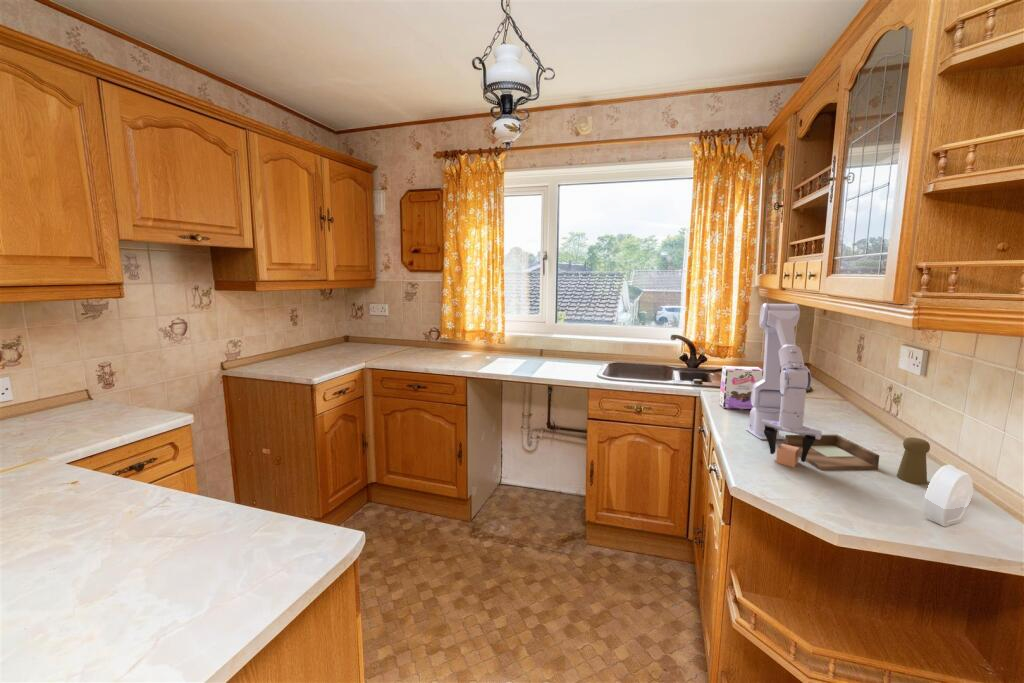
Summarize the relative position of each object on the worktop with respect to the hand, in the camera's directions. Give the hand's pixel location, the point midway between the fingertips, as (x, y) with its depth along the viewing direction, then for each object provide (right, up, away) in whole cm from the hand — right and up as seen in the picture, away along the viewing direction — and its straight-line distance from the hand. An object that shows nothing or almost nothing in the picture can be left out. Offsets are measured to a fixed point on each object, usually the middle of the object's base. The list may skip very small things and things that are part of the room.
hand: (787, 456), depth 128 cm
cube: (0, -2, 0) cm, 2 cm away
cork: (+26, -3, -10) cm, 28 cm away
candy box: (+12, +6, +52) cm, 54 cm away
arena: (+14, -1, +3) cm, 14 cm away
